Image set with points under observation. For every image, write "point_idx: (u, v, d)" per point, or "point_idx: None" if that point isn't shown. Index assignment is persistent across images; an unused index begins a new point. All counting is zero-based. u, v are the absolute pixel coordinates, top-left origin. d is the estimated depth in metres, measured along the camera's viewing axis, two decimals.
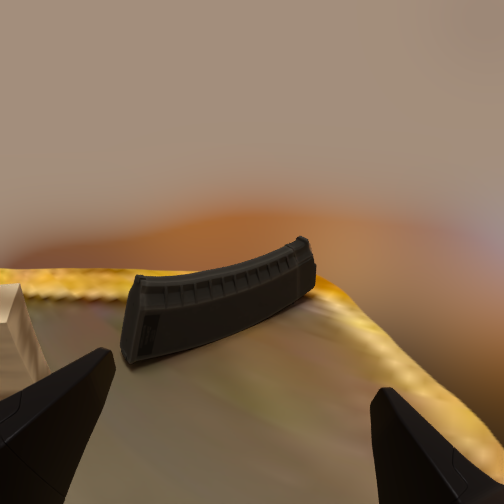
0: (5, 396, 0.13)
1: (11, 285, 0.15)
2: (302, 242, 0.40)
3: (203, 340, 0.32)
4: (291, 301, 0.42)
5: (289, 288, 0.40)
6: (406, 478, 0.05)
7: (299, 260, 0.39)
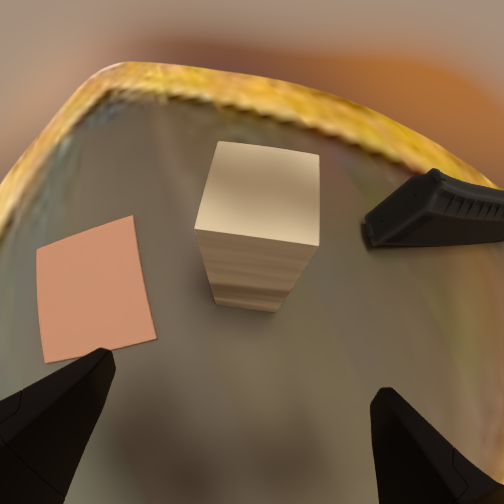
0: (231, 286, 0.18)
1: (304, 157, 0.13)
2: None
3: (440, 243, 0.26)
4: None
5: None
6: (406, 478, 0.05)
7: None
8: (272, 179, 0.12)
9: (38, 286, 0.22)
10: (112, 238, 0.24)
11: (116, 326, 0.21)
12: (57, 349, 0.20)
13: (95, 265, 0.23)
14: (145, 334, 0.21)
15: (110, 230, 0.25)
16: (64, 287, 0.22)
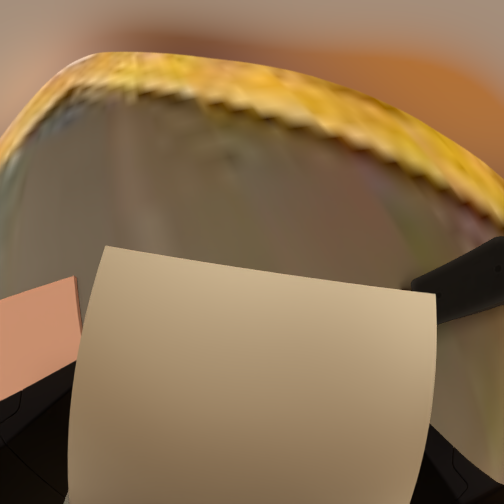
0: None
1: (399, 310, 0.04)
2: None
3: (495, 306, 0.16)
4: None
5: None
6: None
7: None
8: (286, 435, 0.03)
9: None
10: (50, 310, 0.15)
11: None
12: None
13: (32, 345, 0.14)
14: None
15: (47, 296, 0.15)
16: (4, 367, 0.13)
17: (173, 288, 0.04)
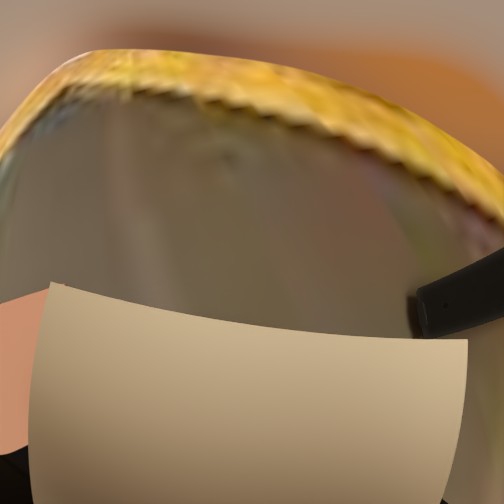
0: None
1: (425, 365, 0.02)
2: None
3: None
4: None
5: None
6: None
7: None
8: None
9: None
10: None
11: None
12: (2, 449, 0.09)
13: (24, 355, 0.13)
14: None
15: (38, 304, 0.14)
16: None
17: (126, 344, 0.02)
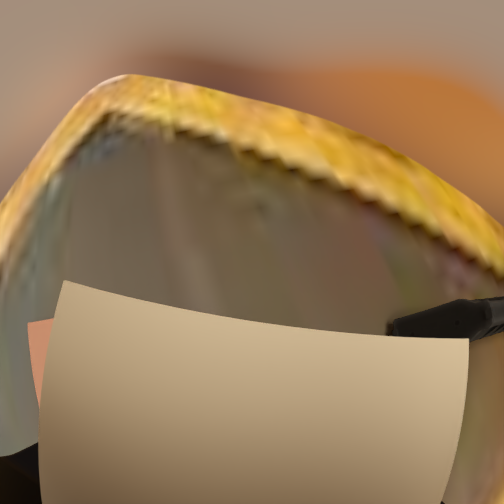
0: None
1: (429, 363, 0.03)
2: None
3: None
4: None
5: None
6: None
7: None
8: None
9: (33, 366, 0.18)
10: None
11: None
12: None
13: None
14: None
15: None
16: None
17: (142, 342, 0.03)
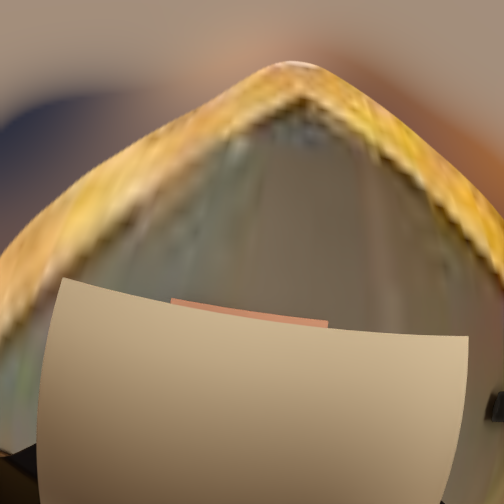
0: None
1: (428, 361, 0.03)
2: None
3: None
4: None
5: None
6: None
7: None
8: None
9: None
10: None
11: None
12: None
13: None
14: None
15: None
16: None
17: (140, 339, 0.03)
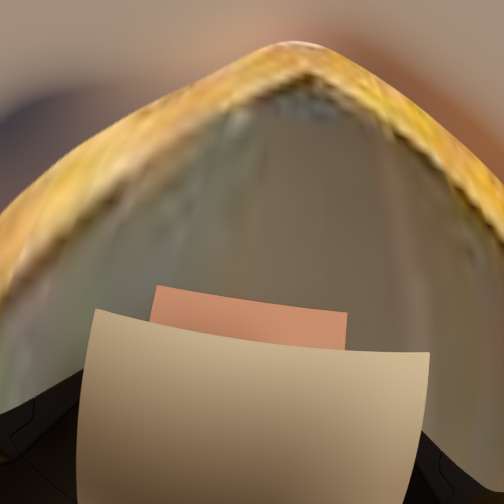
0: None
1: (391, 372, 0.03)
2: None
3: None
4: None
5: None
6: None
7: None
8: (274, 488, 0.03)
9: None
10: (309, 339, 0.16)
11: None
12: None
13: None
14: None
15: (308, 323, 0.16)
16: None
17: (165, 357, 0.03)
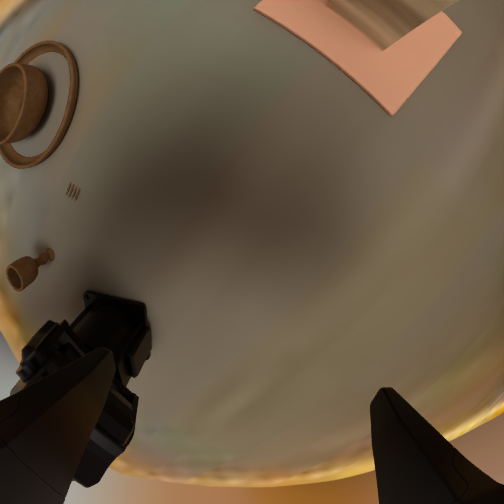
0: None
1: None
2: None
3: None
4: None
5: None
6: (406, 478, 0.05)
7: None
8: None
9: None
10: (433, 20, 0.12)
11: (372, 65, 0.14)
12: (286, 12, 0.13)
13: None
14: (388, 101, 0.15)
15: (437, 14, 0.12)
16: None
17: None
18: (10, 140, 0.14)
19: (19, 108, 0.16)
